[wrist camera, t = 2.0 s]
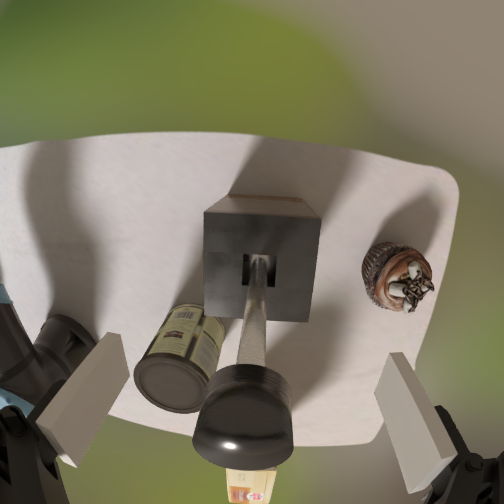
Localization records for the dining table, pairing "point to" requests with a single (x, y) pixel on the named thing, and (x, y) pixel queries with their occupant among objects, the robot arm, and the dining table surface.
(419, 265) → the cupcake
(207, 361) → the coffee can
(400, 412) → the robot arm
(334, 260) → the dining table surface
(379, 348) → the dining table surface
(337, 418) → the dining table surface
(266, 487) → the coffeecake box
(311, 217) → the grey brown upright block
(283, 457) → the plunger
